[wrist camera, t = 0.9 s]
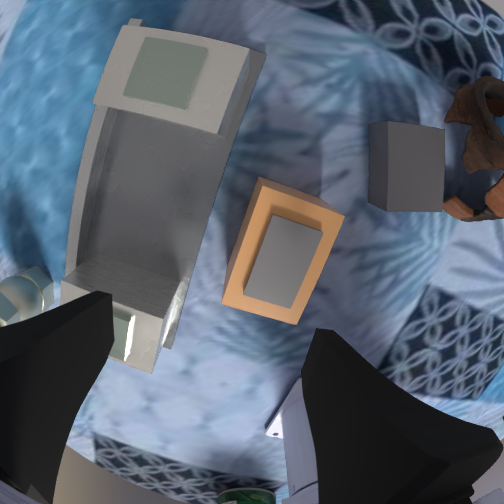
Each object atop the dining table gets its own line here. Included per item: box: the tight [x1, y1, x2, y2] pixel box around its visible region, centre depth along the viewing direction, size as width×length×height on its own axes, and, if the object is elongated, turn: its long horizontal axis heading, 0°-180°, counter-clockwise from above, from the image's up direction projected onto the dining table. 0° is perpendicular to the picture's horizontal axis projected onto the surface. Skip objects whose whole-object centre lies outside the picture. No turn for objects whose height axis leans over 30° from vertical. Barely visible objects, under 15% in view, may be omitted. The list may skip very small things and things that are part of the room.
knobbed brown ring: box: [442, 76, 504, 222], centre depth 15 cm, size 12×10×8 cm
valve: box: [0, 266, 54, 327], centre depth 18 cm, size 7×7×12 cm
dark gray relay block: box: [368, 121, 445, 212], centre depth 16 cm, size 4×5×3 cm
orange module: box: [221, 176, 345, 325], centre depth 16 cm, size 4×6×5 cm, turn 161°
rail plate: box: [61, 18, 266, 374], centre depth 15 cm, size 8×20×6 cm, turn 161°
